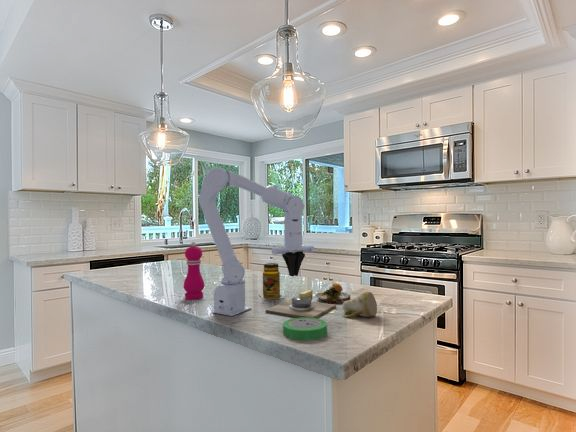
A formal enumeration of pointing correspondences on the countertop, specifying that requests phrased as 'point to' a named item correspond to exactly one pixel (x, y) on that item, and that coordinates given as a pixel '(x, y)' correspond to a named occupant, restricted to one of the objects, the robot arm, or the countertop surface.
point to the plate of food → (334, 294)
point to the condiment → (271, 282)
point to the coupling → (303, 299)
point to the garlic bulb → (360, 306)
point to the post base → (301, 309)
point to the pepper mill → (193, 273)
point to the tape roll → (305, 328)
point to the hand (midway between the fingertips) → (293, 275)
